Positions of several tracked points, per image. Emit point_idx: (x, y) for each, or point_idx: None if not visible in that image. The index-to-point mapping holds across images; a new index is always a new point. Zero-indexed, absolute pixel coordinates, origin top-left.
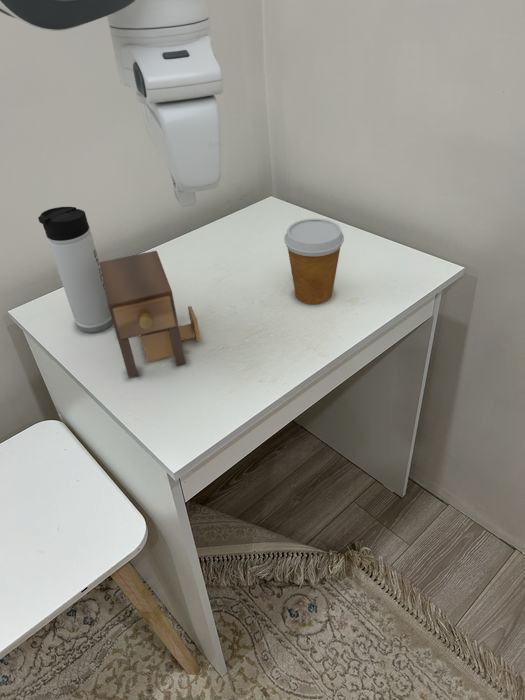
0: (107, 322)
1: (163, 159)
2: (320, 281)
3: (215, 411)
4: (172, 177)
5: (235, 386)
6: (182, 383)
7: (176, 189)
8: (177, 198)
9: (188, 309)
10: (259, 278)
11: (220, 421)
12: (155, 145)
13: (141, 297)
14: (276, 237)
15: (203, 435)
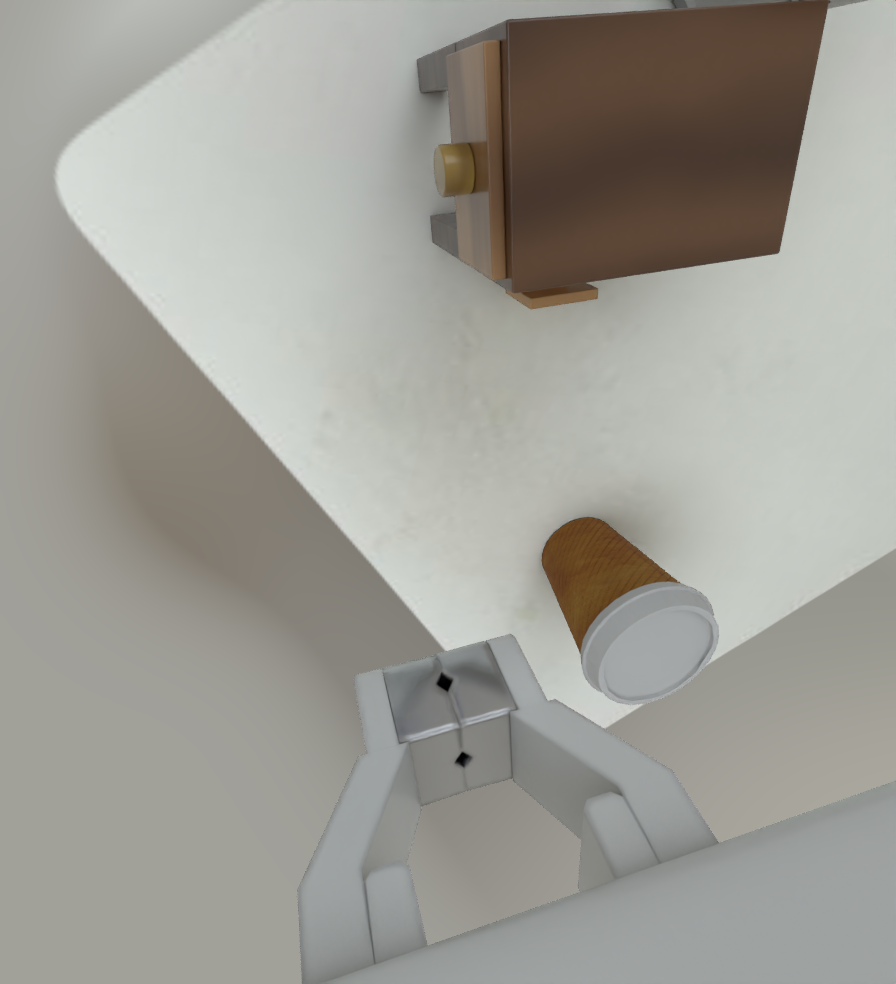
0: (685, 1)
1: (442, 976)
2: (560, 595)
3: (238, 301)
4: (537, 738)
5: (320, 358)
6: (359, 225)
7: (402, 740)
8: (410, 677)
9: (589, 287)
10: (685, 453)
11: (201, 309)
12: (834, 837)
13: (509, 176)
14: (809, 504)
15: (154, 261)
